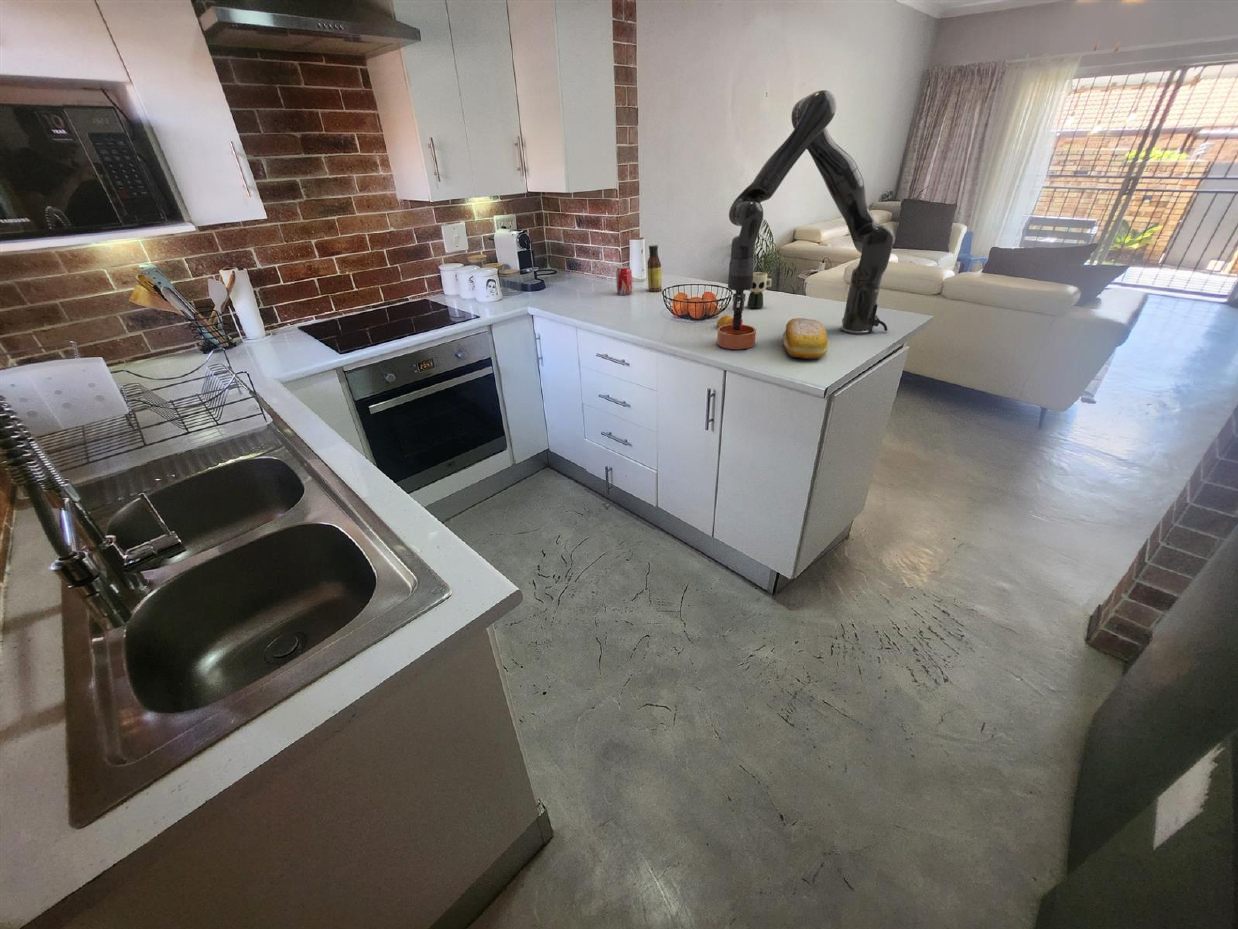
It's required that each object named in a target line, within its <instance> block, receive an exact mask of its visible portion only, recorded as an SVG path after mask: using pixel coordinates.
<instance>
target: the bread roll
mask: <svg viewBox="0 0 1238 929" xmlns="http://www.w3.org/2000/svg"><path fill="white" fill-rule="evenodd" d="M732 319H733V316H731V315H723V316H721V317H720V318H719V319H717V321H716V325H717V327H718V328H719V327H721V326H724V325H730V324H732Z"/></svg>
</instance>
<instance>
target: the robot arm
mask: <svg viewBox="0 0 1238 929" xmlns="http://www.w3.org/2000/svg"><path fill="white" fill-rule="evenodd" d="M836 110H837V101H836V97H835V96H834V94H833V93H832V92H831V91H829V90H826V89H820V90H818V91H814V92H813V93H810V94H809V95H806V96H805V97H802V98H801V99H799V100H798V101H797V102H796V103H795V104H794V105H793V107H792V110H791V114H790V117H791V118H790V119H791V124H792V128H793V131H791V133H790V134H789V136H788V137H787V138H786V139H785V140H784V141H783V143H781V145H780V146H778V148H777V149H776V150H775V151H774V153H773V154H771V155H770V157H769V158H768V159H767V161H766V162H765V163H764V164H763V166H762V167H761V169H760V170H759V172H758V173H757V174H756V176H755V178H754V179H753V181H752V182H751V183H750V184H749V185H748V186H747V187H746V188H745V189H744V190H743V191H742V192H740V194H738V196H737V197H736V198H735V199H734V200H733V202H732V204H731V205H730V207H729V211H728V219H729V222H730V223H731V224H733V225H734V226H737V227H740V230H739V235H736V236H734V237H733V238H732V240H731V246H730V247H731V248H730V258H729V259H730V260H729V265H728V278H727V289H729V290H731V291H735V293H733V294H732V311H733V314H732V317H733V318H734V323H733V330H740V324H741V318H743V315H742V314H743V311H744V310H745V303H746V299H747V298H746V297H747V296H746V293H744V292H745V291H749V290H750V289H751V288H752V285H753V275H754V273H755V253H756V243H757V239H758V237H759V234H760V231H761V227H762V224H763V221H764V207H763V205H762V202H766V201H768V200H770V199H771V198H772V197H773V196H774V195H775V193H776V191H777V190H778V189H779V187H780V186H781V184H782V183H783V181H784V180H785V179H786V177H787V175H788V174H789V172H790V171H791V170H792V169H793V167H794V166H795V164H796V163H797V162H798V160H799V159H800V157H801V156H802V155H803V154H804V153H805V152H806V150H807V152H808V153H809V155H810V157H811V158H812V160H813V162H814V165H815V166H816V168H817V170H818V172H819V174H820V176H821V178H822V180H823V182H824V184H825V187H826V189H827V190H828V192H829V195H830V196H831V198H832V200H833V202H834V204H835V206H836V207H837V209H838V211H839V213H840V214H841V217H842V218H843V219H844V221H845V223H846V226H847V229H848V232H849V234H850V237H851V241H852V243H853V247H854V248H855V249H856V251H857V252H858V253H860V254H861V255H860V258H859V263H858V265H857V266H856V267H854V268H853V269H852V272H851V277H850V282H849V286H848V292H847V298H846V304H845V309H844V314H843V317H842V320H841V322H842V324H841V328H840V329H841V331H843V332H845V333H848V334H857V335H861V334H862V335H863V334H871V333H873V329H874V327H879V325H881V326H882V327H883V330H884V332H888V326H887V324H886V323H885V321H883V320H880V317H879V316H878V315H876V314H877V311H878V306H879V304H878V297H879V293H880V288H881V283H882V280H883V276H884V273H885V272H886V271H887V268H888V266H889V262H890V257H891V254H892V252H893V251H892V250H893V246H894V241H895V240H894V239H895V238H894V237H895V236H894V232H893V230H892V228H891V227H889V226H888V225H883V224H879V223H878V222H877V220H876V219H875V217H874V216H873V214H872V212H871V210H870V209H869V206H868V202H867V193H866V185H865V181H864V178H863V175H862V173H861V171H860V169H859V167H858V165H857V163H856V161H855V160H854V158H853V157H852V156H851V154H849V153H848V152H847V151H846V150H845V149H843V148H842V147H841V146H840V145H838V144H837V143H836V142H835V141H834V139H833V138H832V136H831V134H830V133H829V131H828V128H827V127H828V125H829V124H830V123H831V122H832V120H833V119H834V117H835V114H836Z"/></svg>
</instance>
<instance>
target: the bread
mask: <svg viewBox="0 0 1238 929" xmlns="http://www.w3.org/2000/svg"><path fill="white" fill-rule="evenodd" d="M782 343H783V348H784V349H785V351H786V352H787V354H788V355H790V357H793V358H799V359H805V360H811V359H815V360H816V359H821V358H823V357H824V356H825V355H826V354H827V352H828V349H829V347H828V346H829V343H828V335H827V330H826V329H825V326H824V324H823V322H821V321H819V320H816V319H812V318H806V317H796V318H792V319H790V320H789V321H787V323H786V324H785V330H784V332H783V334H782Z"/></svg>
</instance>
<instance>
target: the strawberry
mask: <svg viewBox="0 0 1238 929" xmlns="http://www.w3.org/2000/svg"><path fill="white" fill-rule="evenodd" d="M733 323H734V318H733V319H732V329H733ZM742 324H743V317H741V324H740V329H741V326H742Z"/></svg>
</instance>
